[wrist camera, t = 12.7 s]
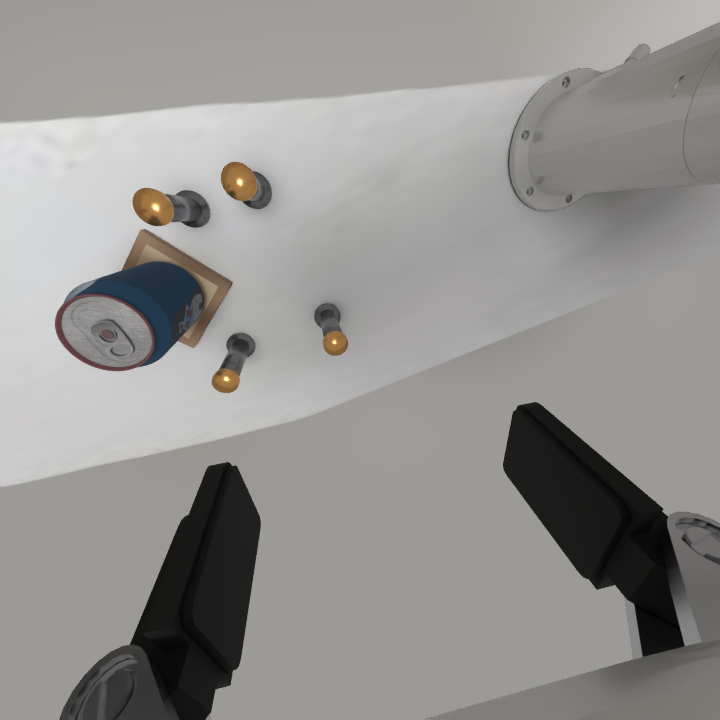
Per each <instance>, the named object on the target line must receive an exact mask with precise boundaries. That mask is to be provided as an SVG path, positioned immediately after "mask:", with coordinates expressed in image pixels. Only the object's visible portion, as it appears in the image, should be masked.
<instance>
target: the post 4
mask: <svg viewBox="0 0 720 720" xmlns="http://www.w3.org/2000/svg"><path fill="white" fill-rule="evenodd" d="M314 317H315V321H316V323H317V325H318V326H319V327H321V328H322V331H323V336H324V339H323V346H324V349H325V351H326V352H327V353H328V354H330V355H334V356H336V355H340V354H342V353H344V352H345V351H346V349H347V347H348V341H347V338H346V336H345V335H344V334H343V333H342V331H341V328H340V325H339V321H340V312H339V310H338V308H337V307H336V306H334V305H333V304H329V303H326V304H322V305H320V306H319V307H318V308H317V309H316V311H315V315H314Z"/></svg>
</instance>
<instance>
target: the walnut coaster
mask: <svg viewBox="0 0 720 720" xmlns="http://www.w3.org/2000/svg"><path fill="white" fill-rule="evenodd" d="M154 261H160V262H167V263H171V264H174V265H176V266H178V267H180V268H182V269H184V270H185V271H187V272H188V273H189V274H190V275H191V276H192V277H193V278H194V279H195V280H196V281H197V283H198V284H199V286H200V288H201V290H202V292H203V296H204V309H203V312H202V314H201V316H200V318H199V319H198V320H197V321H196V322H195V323H194V324H193V325H192V326H191V327H190V328H189V329H188V330H187V331H186V333H185V334H184V335H183V336H182V337H181V338H180V339H179V340H178V341H180V342H182V343H184V344H186V345H188V346H190V347H192V348H194V347H195V346H196V344H197V343H198V341H199V339H200V337H201V336H202V334H203V332H204V331H205V329H206V327H207V325H208V324H209V322H210V320H211V319H212V317H213V315H214V313H215V312H216V310H217V308H218V307H219V305H220V303H221V301H222V300H223V298H224V296H225V295H226V293H227V291H228V289H229V288H230V286H231V284H232V282H231V281H229V280H228V279H226V278H224V277H223V276H221V275H219V274H218V273H216V272H214V271H213V270H211V269H209V268H208V267H206V266H204V265H203V264H201V263H200V262H198V261H196V260H195V259H193V258H191V257H190V256H188V255H186V254H185V253H183V252H181V251H180V250H178V249H177V248H175V247H173V246H172V245H170V244H168V243H167V242H165V241H163V240H162V239H160V238H158V237H157V236H155V235H153V234H152V233H150V232H149V231H147V230H140V232H139V234H138V236H137V238H136V241H135V243H134V245H133V247H132V249H131V251H130V254H129V256H128V258H127V260H126V262H125V264H124V267H123V269H122V271H123V270H126V269H129V268H132V267H135V266H138V265H141V264H144V263H147V262H154Z"/></svg>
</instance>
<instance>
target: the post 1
mask: <svg viewBox="0 0 720 720" xmlns="http://www.w3.org/2000/svg"><path fill="white" fill-rule="evenodd" d="M133 207H134V210H135V212H136V213H137V215H138V216H139V217H140V218H141V219H142V220H143V221H144V222H146V223H148V224H150V225H153V226H163V225H167V224H169V223H170V222H182V223H184V224H185V225H187V226H190V227H201V226H203V225H205V224H206V223H207V222H208V220H209V218H210V209H209V206H208V204H207V202H206V200H205V199H204V198H203V197H202V196H201V195H199V194H198V193H196V192H193V191H188V190H185V191H181V192H179V193H177V194H176V195H169V194H164V193H162V192H161V191H158V190H156V189H151V188H143V189H140V190H138V191H137V192H136V193H135V195H134V197H133Z"/></svg>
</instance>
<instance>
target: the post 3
mask: <svg viewBox="0 0 720 720" xmlns="http://www.w3.org/2000/svg"><path fill="white" fill-rule="evenodd" d="M227 349H228V353H227V355H226V357H225V359H224V361H223V363H222V365H221V367H220V369H219V370H218V371H217V372H216V373H215V374H214V376H213V378H212V385H213V387H214V388H215V389H216V390H218V391H219V392H223V393H230V392H233V391H235V390H236V389H237V387H238V385H239V382H240V378H239V376H240V373H241V370H242V367H243V365H244V362H245V359H246V357H249V356H250V355H251V354H252V353H253V352H254V349H255V343H254V341H253V339H252V338H251V337H250V336H249V335H247V334H244V333H236V334H233V335H232V336H231V337H230V338H229V339H228V341H227Z"/></svg>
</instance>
